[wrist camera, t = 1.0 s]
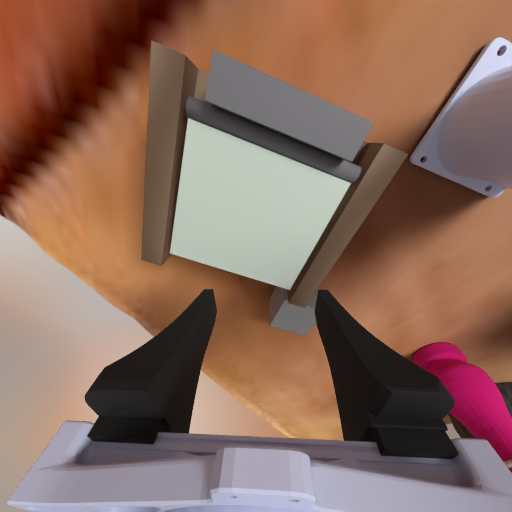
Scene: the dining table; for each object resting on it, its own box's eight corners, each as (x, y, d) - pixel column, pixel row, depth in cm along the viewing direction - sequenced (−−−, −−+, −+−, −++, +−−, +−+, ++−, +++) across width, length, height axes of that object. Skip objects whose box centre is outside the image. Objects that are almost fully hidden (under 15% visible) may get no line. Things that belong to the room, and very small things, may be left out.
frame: (357, 149, 17) (408, 154, 11) (295, 264, 23) (305, 308, 17) (197, 80, 15) (151, 40, 9) (176, 226, 21) (141, 259, 15)
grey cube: (314, 284, 25) (323, 310, 21) (299, 308, 27) (305, 336, 23) (282, 273, 24) (285, 299, 20) (269, 299, 26) (269, 326, 22)
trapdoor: (375, 133, 11) (394, 132, 10) (290, 283, 17) (293, 299, 15) (199, 55, 10) (185, 37, 8) (172, 246, 16) (161, 259, 14)
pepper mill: (433, 371, 33) (617, 625, 16) (398, 360, 32) (555, 620, 15) (472, 347, 29) (765, 640, 12) (435, 334, 28) (697, 635, 11)
